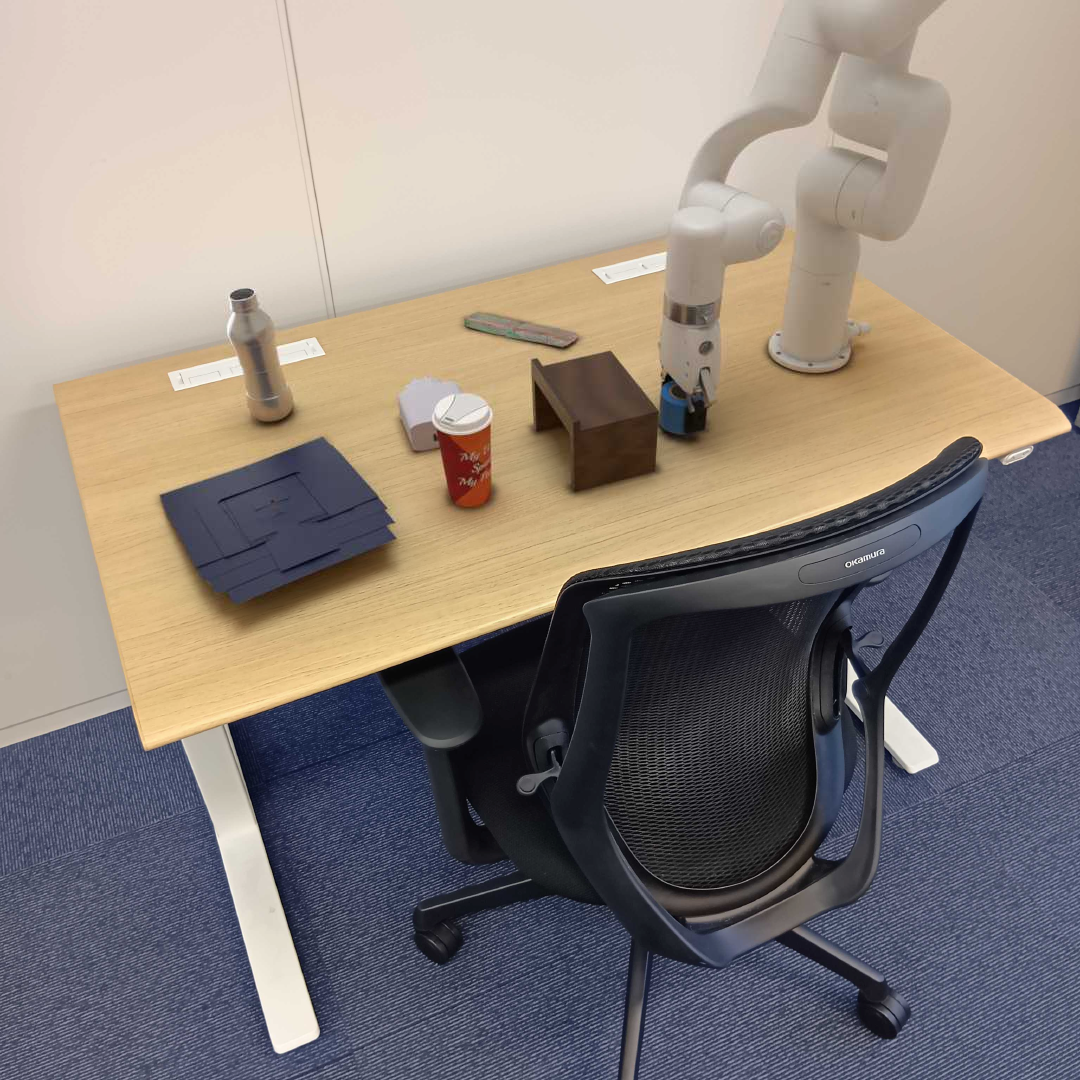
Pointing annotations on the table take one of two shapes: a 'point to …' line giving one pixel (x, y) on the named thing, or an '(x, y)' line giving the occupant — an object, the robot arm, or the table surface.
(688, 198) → the robot arm
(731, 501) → the table surface
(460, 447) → the paper cup
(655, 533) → the table surface
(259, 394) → the silver metal bottle
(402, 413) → the charger
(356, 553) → the navy flat layered slab
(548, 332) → the map
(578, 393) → the desk shelf
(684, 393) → the tape roll
